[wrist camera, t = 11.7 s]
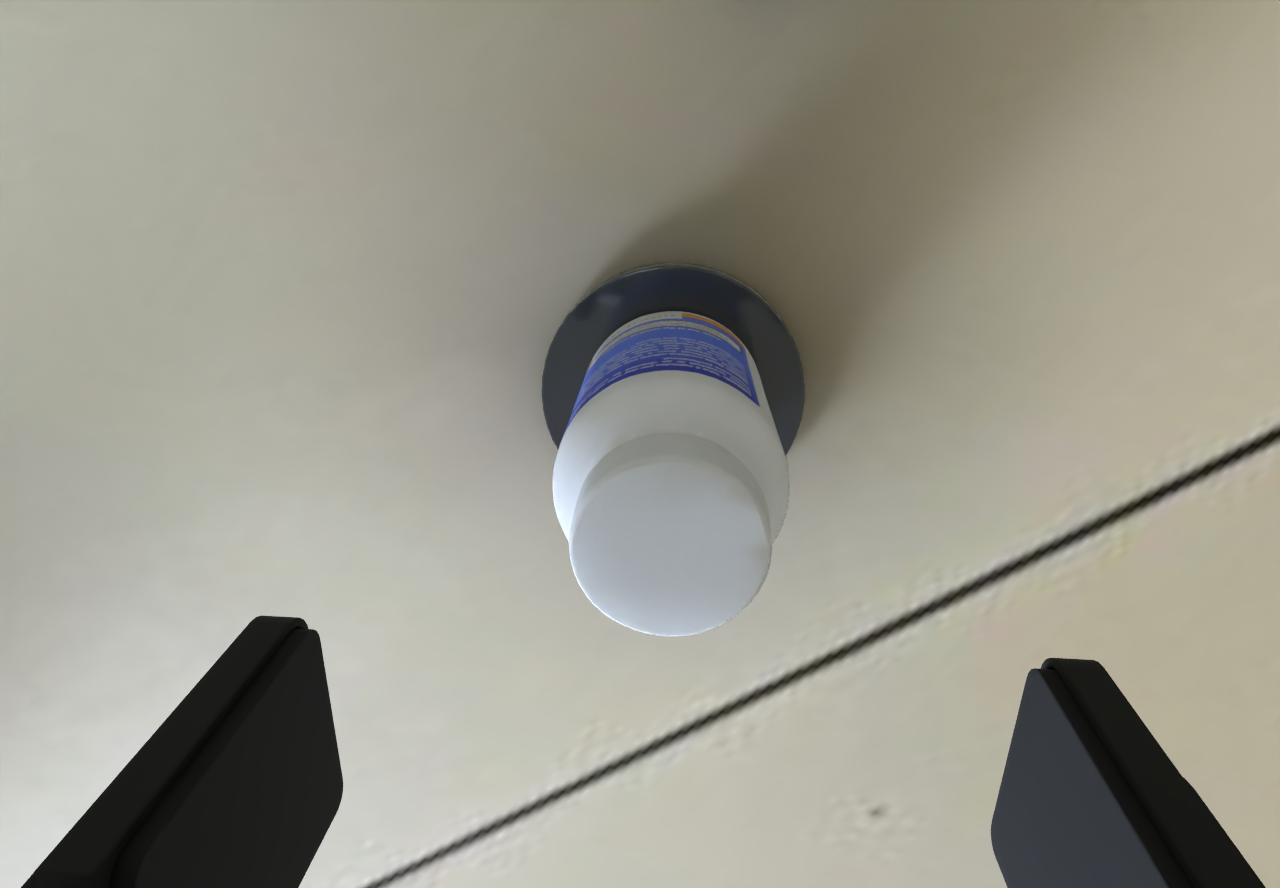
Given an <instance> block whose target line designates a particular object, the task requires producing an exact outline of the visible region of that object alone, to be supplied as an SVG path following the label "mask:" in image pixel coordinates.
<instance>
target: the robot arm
mask: <svg viewBox="0 0 1280 888" xmlns="http://www.w3.org/2000/svg"><path fill="white" fill-rule="evenodd" d="M342 793H343V778H342V772H341V766H340V760H339V753H338V747H337V741H336V735H335V729H334V722H333V716H332V710H331V704H330V698H329V692H328V685H327V679H326V673H325V667H324V661H323V654H322V648H321V642H320V637H319V634H318V633H317V631H316V630H312V629H308V626H307V624H306V622H305V621H304V620H303V619H301V618H293V617H274V616H259V617H256V618H255V619H253V620H252V621H251V622H250V623H249V624H248V626H247V627H246V628H245V629H244V630H243V631H242V633H241V634H240V635H239V636H238V637H237V638H236V639H235V641H234V642H233V643H232V644H231V645H230V646H229V648H228V649H227V650H226V651H225V652H224V653H223V654H222V656H221V657H220V658H219V659H218V660H217V661H216V663H215V664H214V665H213V666H212V667H211V668H210V670H209V671H208V672H207V673H206V674H205V675H204V676H203V678H202V679H201V680H200V681H199V682H198V683H197V685H196V686H195V687H194V688H193V689H192V690H191V691H190V693H189V694H188V695H187V696H186V697H185V698H184V700H183V701H182V702H181V703H180V704H179V705H178V706H177V708H176V709H175V710H174V711H173V712H172V713H171V715H170V716H169V717H168V718H167V719H166V720H165V721H164V723H163V724H162V725H161V726H160V727H159V728H158V730H157V731H156V732H155V733H154V734H153V735H152V736H151V738H150V739H149V740H148V741H147V742H146V743H145V745H144V746H143V747H142V748H141V749H140V750H139V751H138V753H137V754H136V755H135V756H134V757H133V758H132V760H131V761H130V762H129V763H128V764H127V765H126V766H125V768H124V769H123V770H122V771H121V772H120V773H119V775H118V776H117V777H116V778H115V779H114V780H113V781H112V783H111V784H110V785H109V786H108V787H107V788H106V790H105V791H104V792H103V793H102V794H101V795H100V796H99V798H98V799H97V800H96V801H95V802H94V803H93V805H92V806H91V807H90V808H89V809H88V810H87V811H86V813H85V814H84V815H83V816H82V817H81V818H80V820H79V821H78V822H77V823H76V824H75V825H74V826H73V828H72V829H71V830H70V831H69V832H68V833H67V835H66V836H65V837H64V838H63V839H62V840H61V841H60V843H59V844H58V845H57V846H56V847H55V848H54V850H53V851H52V852H51V853H50V854H49V855H48V857H47V858H46V859H45V860H44V861H43V862H42V863H41V865H40V866H39V867H38V868H37V869H36V870H35V872H34V873H33V874H32V875H31V877H30V878H29V879H28V880H27V881H26V882H25V884H24V885H23V886H22V887H21V888H298V887H299V885H300V883H301V881H302V879H303V877H304V875H305V873H306V871H307V869H308V867H309V865H310V864H311V862H312V860H313V858H314V856H315V854H316V852H317V850H318V848H319V846H320V844H321V842H322V840H323V838H324V836H325V834H326V832H327V830H328V828H329V826H330V824H331V822H332V821H333V819H334V817H335V815H336V813H337V810H338V808H339V805H340V802H341V798H342ZM991 839H992V846H993V850H994V853H995V857H996V859H997V862H998V864H999V867H1000V869H1001V872H1002V874H1003V877H1004V879H1005V882H1006V885H1007V887H1008V888H1265V886H1264V885H1263V883H1262V882H1261V881H1260V879H1259V878H1258V876H1257V875H1256V874H1255V872H1254V871H1253V870H1252V868H1251V867H1250V865H1249V864H1248V863H1247V861H1246V860H1245V859H1244V857H1243V856H1242V854H1241V853H1240V852H1239V850H1238V849H1237V847H1236V846H1235V845H1234V843H1233V842H1232V841H1231V839H1230V838H1229V836H1228V835H1227V834H1226V832H1225V831H1224V829H1223V828H1222V827H1221V825H1220V824H1219V823H1218V821H1217V820H1216V818H1215V817H1214V816H1213V814H1212V813H1211V811H1210V810H1209V809H1208V807H1207V806H1206V805H1205V803H1204V802H1203V800H1202V799H1201V798H1200V796H1199V795H1198V794H1197V792H1196V791H1195V789H1194V788H1193V787H1192V786H1191V785H1190V784H1189V783H1188V782H1187V781H1186V779H1185V778H1183V777H1182V776H1181V774H1180V773H1179V772H1178V770H1177V769H1176V767H1175V766H1174V765H1173V763H1172V762H1171V760H1170V759H1169V758H1168V756H1167V755H1166V754H1165V752H1164V751H1163V749H1162V748H1161V747H1160V745H1159V744H1158V742H1157V741H1156V740H1155V738H1154V737H1153V735H1152V734H1151V733H1150V731H1149V730H1148V728H1147V727H1146V726H1145V724H1144V723H1143V721H1142V720H1141V719H1140V717H1139V716H1138V715H1137V713H1136V712H1135V710H1134V709H1133V708H1132V706H1131V705H1130V703H1129V702H1128V701H1127V699H1126V698H1125V696H1124V695H1123V694H1122V692H1121V691H1120V689H1119V688H1118V687H1117V685H1116V684H1115V683H1114V681H1113V680H1112V678H1111V677H1110V676H1109V674H1108V673H1107V671H1106V670H1105V669H1104V667H1103V666H1102V665H1101V664H1100V663H1099V662H1097V661H1094V660H1081V659H1062V658H1049V659H1046V660H1045V661H1044V663H1043V664H1042V667H1041V669H1031V671H1030V672H1029V673H1028V676H1027V679H1026V683H1025V687H1024V691H1023V696H1022V700H1021V704H1020V708H1019V712H1018V716H1017V720H1016V724H1015V728H1014V733H1013V737H1012V741H1011V745H1010V749H1009V753H1008V757H1007V761H1006V766H1005V770H1004V774H1003V778H1002V782H1001V786H1000V790H999V794H998V799H997V803H996V807H995V811H994V815H993V819H992V825H991Z"/></svg>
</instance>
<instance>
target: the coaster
mask: <svg viewBox="0 0 1280 888" xmlns="http://www.w3.org/2000/svg"><path fill="white" fill-rule="evenodd" d="M666 311H681V312H689V313H694V314H698V315H701V316H704V317H707V318H710V319H712V320H714V321H716V322H718V323H720V324H721V325H723V326H724V327H726V328H727V329H729V330H730V331H731V332H732V333H733V334H735V335H736V336H737V337H738V338H739V339H740V340H741V342H742V343H743V344H744V345H745V347H746V348H747V350H748V351H749V353H750V355H751V356H752V358H753V360H754V362H755V365H756V367H757V370H758V372H759V375H760V378H761V381H762V385H763V388H764V392H765V395H766V398H767V401H768V404H769V408H770V411H771V414H772V417H773V420H774V423H775V426H776V429H777V432H778V435H779V438H780V441H781V444H782V447H783V450H784V454H785V456H786V454H787V453H788V451H789V450H790V448H791V445H792V443H793V441H794V439H795V437H796V435H797V432H798V429H799V425H800V422H801V419H802V413H803V407H804V394H805V384H804V375H803V368H802V364H801V360H800V356H799V353H798V350H797V348H796V345H795V343H794V341H793V338H792V336H791V334H790V332H789V330H788V329H787V327H786V325H785V324H784V322H783V320H782V319H781V317H780V316H779V315H778V313H777V312H776V311H775V310H774V308H773V307H772V306H771V305H770V304H769V303H768V302H767V301H766V300H765V299H764V298H763V297H762V296H761V295H760V294H759V293H757V292H756V291H755V290H753V289H752V288H751V287H749V286H748V285H746V284H745V283H743V282H742V281H740V280H738V279H736V278H734V277H732V276H730V275H728V274H726V273H723V272H720V271H718V270H715V269H712V268H708V267H704V266H700V265H695V264H686V263H658V264H652V265H646V266H641V267H638V268H635V269H631V270H628V271H625V272H623V273H620V274H618V275H616V276H614V277H612V278H610V279H608V280H606V281H605V282H603V283H602V284H600V285H599V286H597V287H595V288H594V289H593V290H591V291H590V292H589V293H588V294H587V295H586V296H584V297H583V298H582V299H581V300H580V301H579V302H578V303H577V304H576V306H575V307H574V308H573V309H572V310H571V311H570V312H569V314H568V315H567V317H566V318H565V320H564V321H563V323H562V324H561V326H560V327H559V329H558V330H557V333H556V335H555V337H554V339H553V341H552V343H551V345H550V348H549V351H548V354H547V357H546V360H545V365H544V371H543V376H542V402H543V411H544V415H545V419H546V423H547V427H548V429H549V432H550V435H551V437H552V440H553V442H554V444H555V445H556V447H557V449H558V450H559V446H560V443H561V440H562V438H563V435H564V433H565V430H566V427H567V425H568V422H569V419H570V417H571V414H572V412H573V408H574V405H575V403H576V400H577V397H578V395H579V392H580V389H581V386H582V384H583V381H584V378H585V375H586V372H587V370H588V367H589V365H590V363H591V361H592V359H593V357H594V355H595V354H596V352H597V351H598V349H599V348H600V346H601V345H602V344H603V343H604V342H605V340H606V339H607V338H608V337H609V336H610V335H611V334H613V333H614V332H615V331H616V330H617V329H619V328H620V327H622V326H623V325H625V324H626V323H628V322H630V321H632V320H634V319H636V318H639V317H641V316H645V315H648V314H653V313H658V312H666Z"/></svg>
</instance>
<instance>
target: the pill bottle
mask: <svg viewBox="0 0 1280 888" xmlns="http://www.w3.org/2000/svg"><path fill="white" fill-rule="evenodd" d="M789 485H790V484H789V472H788V465H787V461H786V457H785V454H784V450H783V447H782V444H781V441H780V438H779V435H778V432H777V429H776V426H775V423H774V420H773V417H772V414H771V411H770V408H769V404H768V401H767V398H766V395H765V392H764V388H763V385H762V381H761V378H760V375H759V372H758V370H757V367H756V365H755V362H754V360H753V358H752V356H751V355H750V353H749V351H748V350H747V348H746V347H745V345H744V344H743V343H742V342H741V340H740V339H739V338H738V337H737V336H736V335H735V334H733V333H732V332H731V331H730V330H729V329H727V328H726V327H724V326H723V325H721V324H720V323H718V322H716V321H714V320H712V319H710V318H707V317H704V316H701V315H698V314H694V313H689V312H681V311H666V312H658V313H653V314H648V315H645V316H641V317H639V318H636V319H634V320H632V321H630V322H628V323H626V324H625V325H623V326H622V327H620V328H619V329H617V330H616V331H615V332H614V333H613V334H611V335H610V336H609V337H608V338H607V339H606V340H605V342H604V343H603V344H602V345H601V346H600V348H599V349H598V351H597V352H596V354H595V355H594V357H593V359H592V361H591V363H590V365H589V367H588V370H587V372H586V375H585V378H584V381H583V384H582V386H581V389H580V392H579V395H578V397H577V400H576V403H575V405H574V408H573V412H572V414H571V417H570V419H569V422H568V425H567V427H566V430H565V433H564V435H563V438H562V440H561V443H560V446H559V450H558V453H557V456H556V460H555V464H554V471H553V484H552V487H553V499H554V505H555V510H556V514H557V517H558V520H559V522H560V525H561V528H562V530H563V532H564V534H565V536H566V538H567V539H568V541H569V554H570V558H571V564H572V567H573V571H574V574H575V576H576V579H577V581H578V583H579V585H580V587H581V588H582V590H583V592H584V593H585V594H586V596H587V597H588V598H589V600H590V601H591V602H592V603H593V604H594V605H595V606H596V607H597V608H598V609H599V610H600V611H601V612H603V613H604V614H605V615H607V616H608V617H610V618H611V619H613V620H614V621H616V622H618V623H619V624H621V625H623V626H625V627H628V628H630V629H633V630H636V631H639V632H642V633H646V634H652V635H659V636H684V635H691V634H696V633H701V632H704V631H707V630H710V629H712V628H715V627H718V626H720V625H721V624H723V623H725V622H727V621H729V620H730V619H732V618H733V617H735V616H736V615H737V614H739V613H740V612H741V611H742V610H743V609H745V608H746V606H747V605H748V604H749V603H750V602H751V601H752V600H753V598H754V597H755V596H756V595H757V593H758V592H759V590H760V588H761V586H762V584H763V583H764V580H765V578H766V576H767V573H768V569H769V566H770V561H771V553H772V544H773V542H774V540H775V539H776V537H777V535H778V533H779V531H780V529H781V526H782V524H783V521H784V518H785V515H786V511H787V506H788V500H789Z"/></svg>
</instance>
